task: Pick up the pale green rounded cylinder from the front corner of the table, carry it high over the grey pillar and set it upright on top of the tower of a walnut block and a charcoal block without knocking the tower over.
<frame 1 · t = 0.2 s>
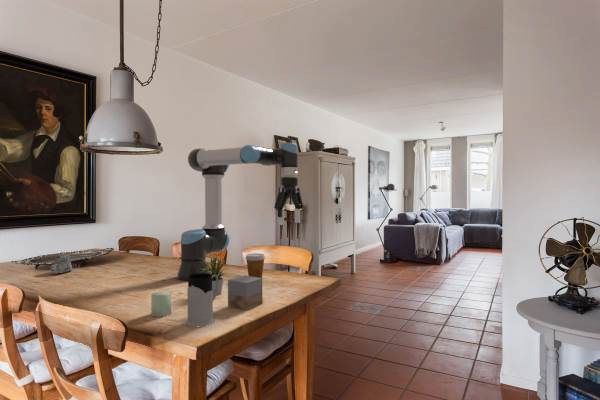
hand: (289, 223, 164), 28 cm above the table, tool pointing down, fingers open, 13 cm apart
disposable coffee cup: (255, 279, 175), on the table
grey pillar: (205, 320, 118), on the table
walnut base block: (245, 305, 134), on the table, touching charcoal top block
charcoal top block: (245, 292, 133), point 5 cm above the table, touching walnut base block
mineral rock: (60, 273, 190), on the table
house plant: (212, 293, 149), on the table
pale green rounded cylinder: (161, 314, 124), on the table
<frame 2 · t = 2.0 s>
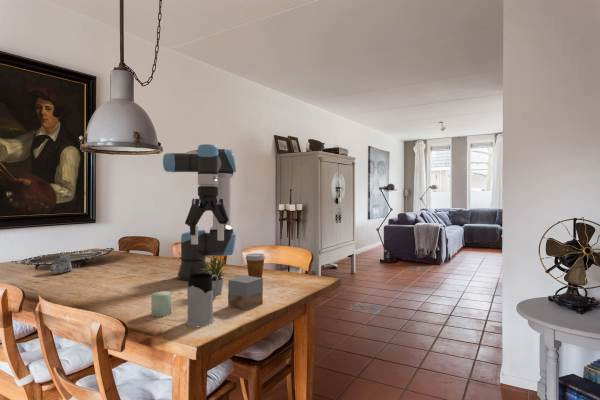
hand: (208, 242, 135), 23 cm above the table, tool pointing down, fingers open, 13 cm apart
nothing on the table moved.
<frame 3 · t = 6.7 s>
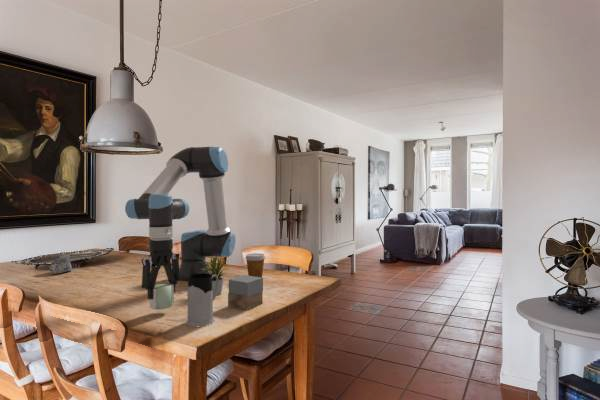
hand: (161, 305, 124), 3 cm above the table, tool pointing down, fingers closed on pale green rounded cylinder, 6 cm apart
pale green rounded cylinder: (161, 306, 124), point 2 cm above the table, touching gripper
everything else where it was.
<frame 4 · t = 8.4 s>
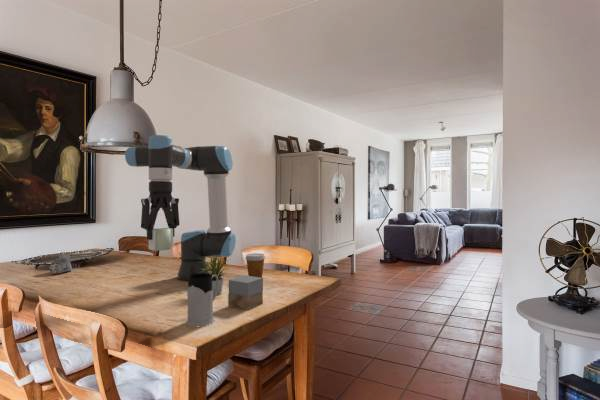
hand: (161, 247, 123), 23 cm above the table, tool pointing down, fingers closed on pale green rounded cylinder, 6 cm apart
walnut base block: (245, 305, 134), on the table
charcoal top block: (246, 292, 134), point 5 cm above the table
pale green rounded cylinder: (161, 249, 123), point 22 cm above the table, touching gripper
everything else where it was.
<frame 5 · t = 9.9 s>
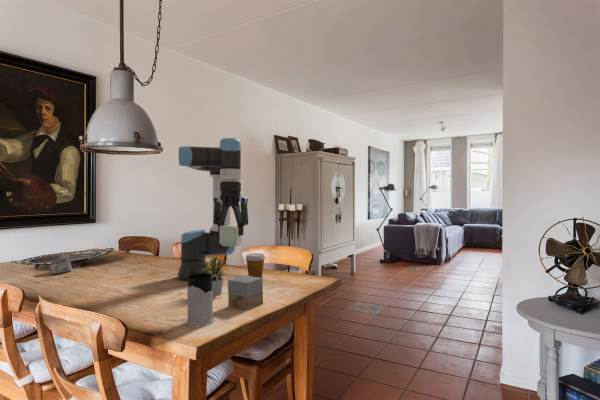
hand: (230, 244, 131), 23 cm above the table, tool pointing down, fingers closed on pale green rounded cylinder, 6 cm apart
walnut base block: (245, 305, 134), on the table, touching charcoal top block
charcoal top block: (245, 292, 134), point 5 cm above the table, touching walnut base block
pale green rounded cylinder: (230, 245, 131), point 23 cm above the table, touching gripper
everything else where it was.
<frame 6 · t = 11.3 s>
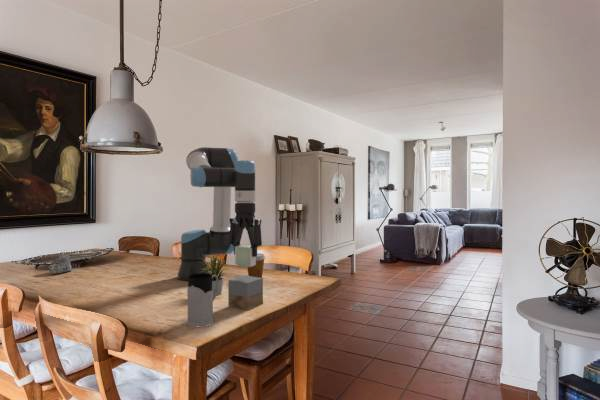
hand: (245, 264, 133), 15 cm above the table, tool pointing down, fingers closed on pale green rounded cylinder, 6 cm apart
pale green rounded cylinder: (245, 265, 133), point 15 cm above the table, touching gripper
everything else where it was.
when the fingers open (10 cm above the table, at t = 12.9 s): pale green rounded cylinder stays where it is, resting on charcoal top block.
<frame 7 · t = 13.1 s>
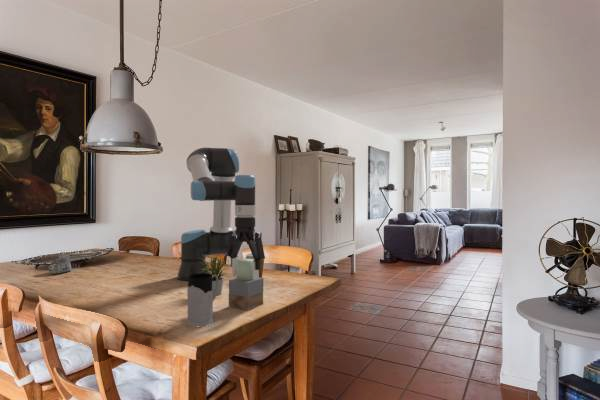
hand: (245, 276, 133), 11 cm above the table, tool pointing down, fingers open, 9 cm apart
walnut base block: (246, 305, 133), on the table
charcoal top block: (246, 292, 133), point 5 cm above the table, touching pale green rounded cylinder
pale green rounded cylinder: (245, 279, 133), point 10 cm above the table, touching charcoal top block
everything else where it was.
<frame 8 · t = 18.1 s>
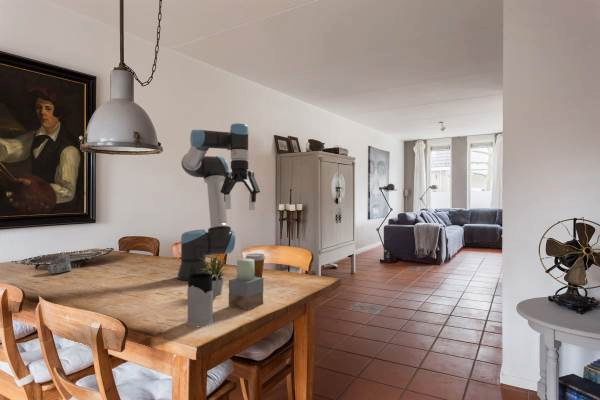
hand: (239, 209, 154), 35 cm above the table, tool pointing down, fingers open, 13 cm apart
walnut base block: (246, 305, 134), on the table, touching charcoal top block
charcoal top block: (246, 292, 133), point 5 cm above the table, touching pale green rounded cylinder, walnut base block
at the end: pale green rounded cylinder 0.2 cm off-centre on the walnut base block, point 10.0 cm above the walnut base block's base; charcoal top block 0.1 cm off-centre on the walnut base block, point 5.0 cm above the walnut base block's base; pale green rounded cylinder tilted 0° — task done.
